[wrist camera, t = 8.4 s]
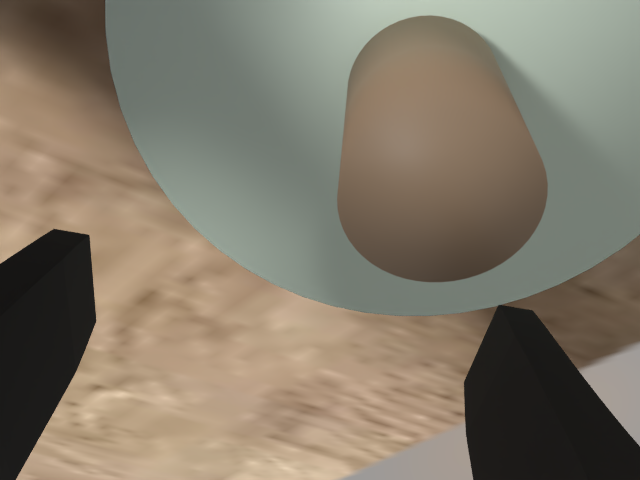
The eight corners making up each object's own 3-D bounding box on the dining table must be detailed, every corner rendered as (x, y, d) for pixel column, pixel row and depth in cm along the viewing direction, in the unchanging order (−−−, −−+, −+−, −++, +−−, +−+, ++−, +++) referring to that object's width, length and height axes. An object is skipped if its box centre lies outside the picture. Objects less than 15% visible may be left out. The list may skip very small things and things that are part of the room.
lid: (164, 285, 19) (94, 448, 14) (47, -343, 10) (-218, -457, 6) (635, 309, 18) (728, 491, 13) (908, -349, 10) (1409, -487, 5)
